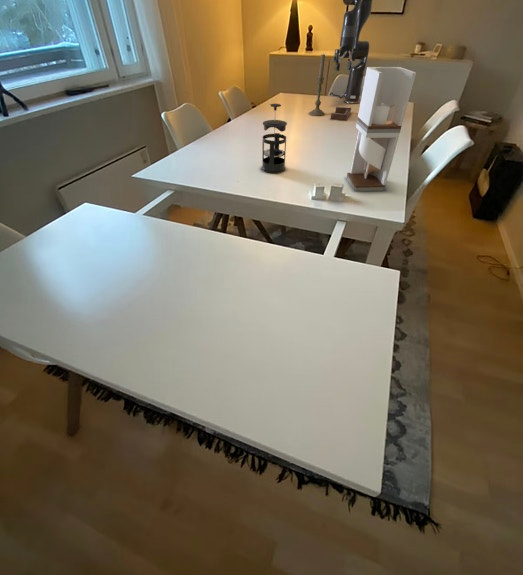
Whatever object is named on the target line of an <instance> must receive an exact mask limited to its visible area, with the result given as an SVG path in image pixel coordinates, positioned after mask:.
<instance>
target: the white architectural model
mask: <svg viewBox="0 0 523 575" xmlns="http://www.w3.org/2000/svg"><path fill="white" fill-rule="evenodd" d="M416 76H417V72H415V71H413V70H410V69H407V68H405V67H403V66H367V67H366V69H365V76H364V81H363V86H362V92H361V97H360V101H359V102H360V103H359V108H358V114H357V119H356V124H355V128H356V130H358V131H357V138H356V142H355V146H354V152H353V156H352V163H351V168H350V172H346V180H347V181H348V183H349V184H350V186H351V188H352V190H353V191H354V192H375V191H376V192H377V191H379V192H381V191H382V192H383V191H385V189H386V185H387V181H388V177H389V174H390V170H391V167H392V163H393V159H394V155H395V152H396V148H397V144H398V142H399V138H400V134H401V131H402V130H401V129H402V126H403V123H404V119H405V115H406V113H407V112H406V111H407V108H408V104H409V101H410V98H411V93H412V90H413V86H414V83H415V79H416Z"/></svg>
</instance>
